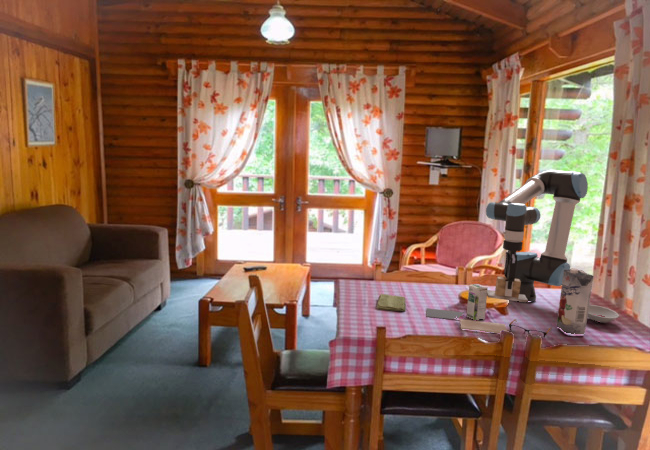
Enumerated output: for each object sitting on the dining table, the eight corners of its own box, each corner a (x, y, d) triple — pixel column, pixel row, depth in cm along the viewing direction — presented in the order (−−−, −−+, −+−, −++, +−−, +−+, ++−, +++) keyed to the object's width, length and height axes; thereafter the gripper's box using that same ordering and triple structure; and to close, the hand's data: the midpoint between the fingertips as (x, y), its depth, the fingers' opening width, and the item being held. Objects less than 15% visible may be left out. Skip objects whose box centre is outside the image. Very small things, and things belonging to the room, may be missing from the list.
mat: (463, 312, 229) (463, 312, 229) (464, 321, 218) (464, 320, 218) (426, 308, 232) (426, 308, 232) (426, 316, 221) (426, 316, 221)
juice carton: (574, 328, 216) (583, 266, 211) (587, 338, 205) (597, 273, 201) (553, 327, 215) (561, 265, 211) (565, 337, 205) (574, 272, 200)
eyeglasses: (507, 333, 207) (508, 324, 206) (516, 323, 219) (517, 314, 218) (545, 342, 199) (546, 333, 199) (551, 332, 211) (553, 322, 211)
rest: (504, 326, 213) (504, 324, 213) (507, 335, 204) (508, 332, 204) (459, 321, 217) (460, 319, 217) (461, 330, 207) (461, 327, 207)
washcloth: (375, 310, 227) (376, 303, 227) (378, 298, 244) (379, 292, 244) (405, 313, 225) (406, 306, 224) (406, 301, 242) (406, 295, 242)
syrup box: (465, 316, 224) (468, 284, 221) (476, 315, 226) (478, 283, 224) (474, 321, 219) (477, 288, 216) (485, 319, 221) (488, 286, 218)
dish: (572, 314, 235) (574, 303, 234) (605, 316, 234) (606, 305, 233) (589, 328, 217) (591, 316, 216) (624, 330, 216) (626, 319, 216)
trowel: (524, 297, 221) (527, 279, 219) (527, 302, 213) (530, 284, 212) (485, 292, 224) (488, 274, 222) (487, 297, 216) (490, 279, 214)
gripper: (500, 236, 223) (495, 287, 227) (506, 243, 206) (500, 299, 210) (519, 237, 222) (513, 289, 226) (526, 245, 205) (519, 301, 209)
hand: (507, 294), depth 218 cm, fingers closed on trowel, 4 cm apart
